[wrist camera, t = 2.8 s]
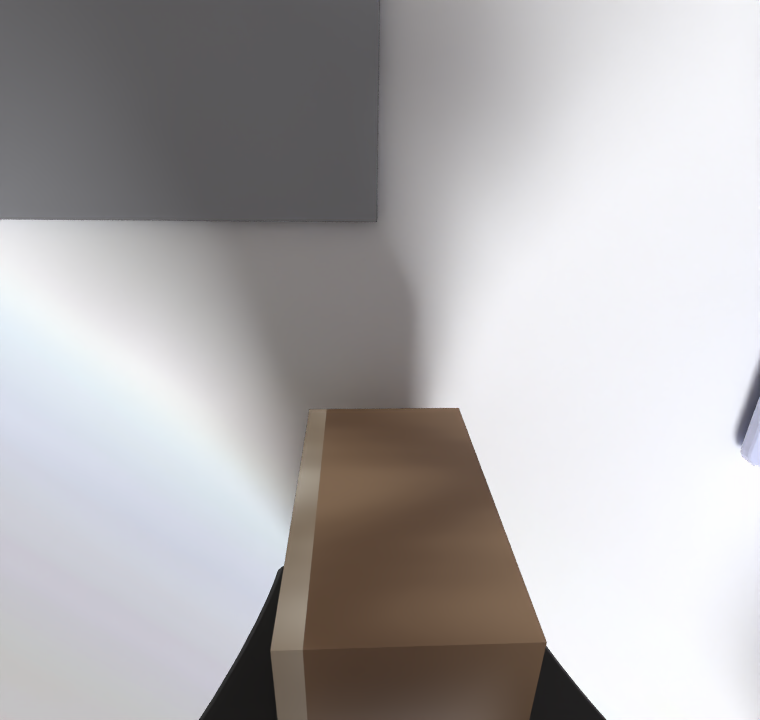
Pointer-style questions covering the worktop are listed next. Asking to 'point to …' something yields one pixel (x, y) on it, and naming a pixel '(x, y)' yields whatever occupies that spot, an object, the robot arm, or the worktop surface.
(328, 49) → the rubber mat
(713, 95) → the worktop surface
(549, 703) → the robot arm
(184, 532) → the worktop surface
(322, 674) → the brown wooden block
